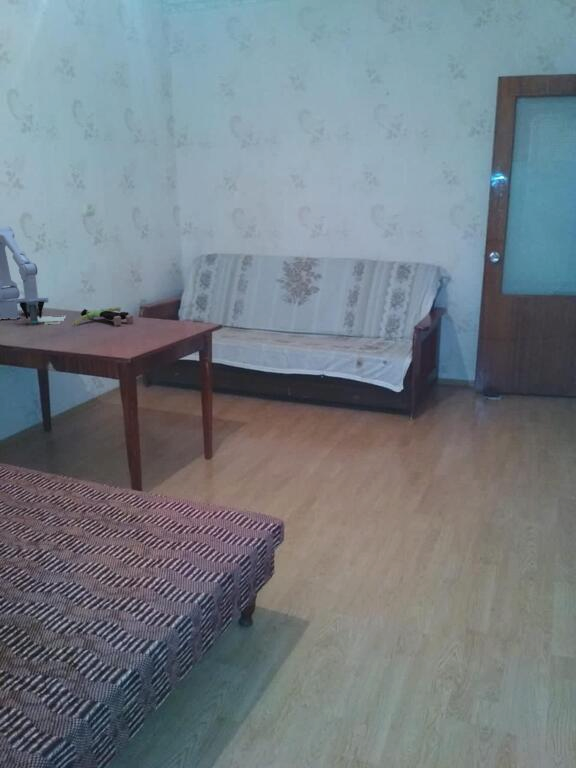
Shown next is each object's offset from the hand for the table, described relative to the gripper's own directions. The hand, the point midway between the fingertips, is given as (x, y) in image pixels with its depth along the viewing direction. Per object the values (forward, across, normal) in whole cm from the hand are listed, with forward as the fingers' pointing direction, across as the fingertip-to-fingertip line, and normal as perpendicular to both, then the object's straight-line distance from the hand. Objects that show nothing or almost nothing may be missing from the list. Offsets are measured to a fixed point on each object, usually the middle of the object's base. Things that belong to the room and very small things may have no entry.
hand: (33, 318), depth 296 cm
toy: (+3, +32, -2) cm, 32 cm away
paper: (+3, +6, +10) cm, 12 cm away
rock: (+3, -4, +27) cm, 27 cm away
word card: (+3, +8, 0) cm, 9 cm away
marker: (+3, 0, 0) cm, 3 cm away
